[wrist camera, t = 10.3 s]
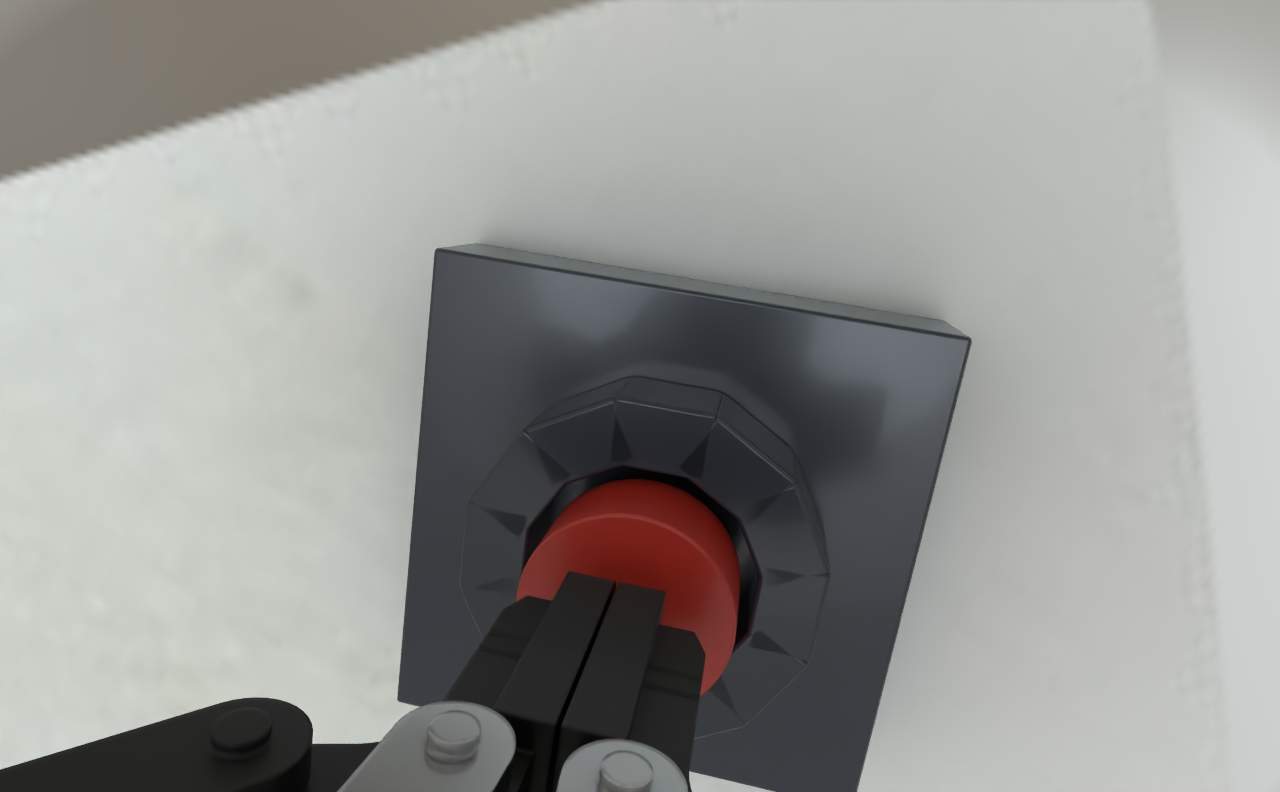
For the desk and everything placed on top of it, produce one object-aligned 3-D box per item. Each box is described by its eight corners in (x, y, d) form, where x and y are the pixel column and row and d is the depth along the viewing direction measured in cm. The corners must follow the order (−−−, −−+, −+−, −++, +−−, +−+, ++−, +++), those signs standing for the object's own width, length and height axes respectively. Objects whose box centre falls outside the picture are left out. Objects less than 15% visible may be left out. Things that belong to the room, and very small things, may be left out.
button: (757, 499, 14) (755, 539, 12) (721, 680, 15) (715, 741, 13) (556, 460, 14) (528, 493, 13) (533, 638, 15) (503, 691, 14)
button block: (948, 320, 16) (1001, 356, 12) (843, 743, 19) (861, 882, 15) (474, 242, 17) (389, 252, 14) (435, 649, 20) (355, 755, 16)
